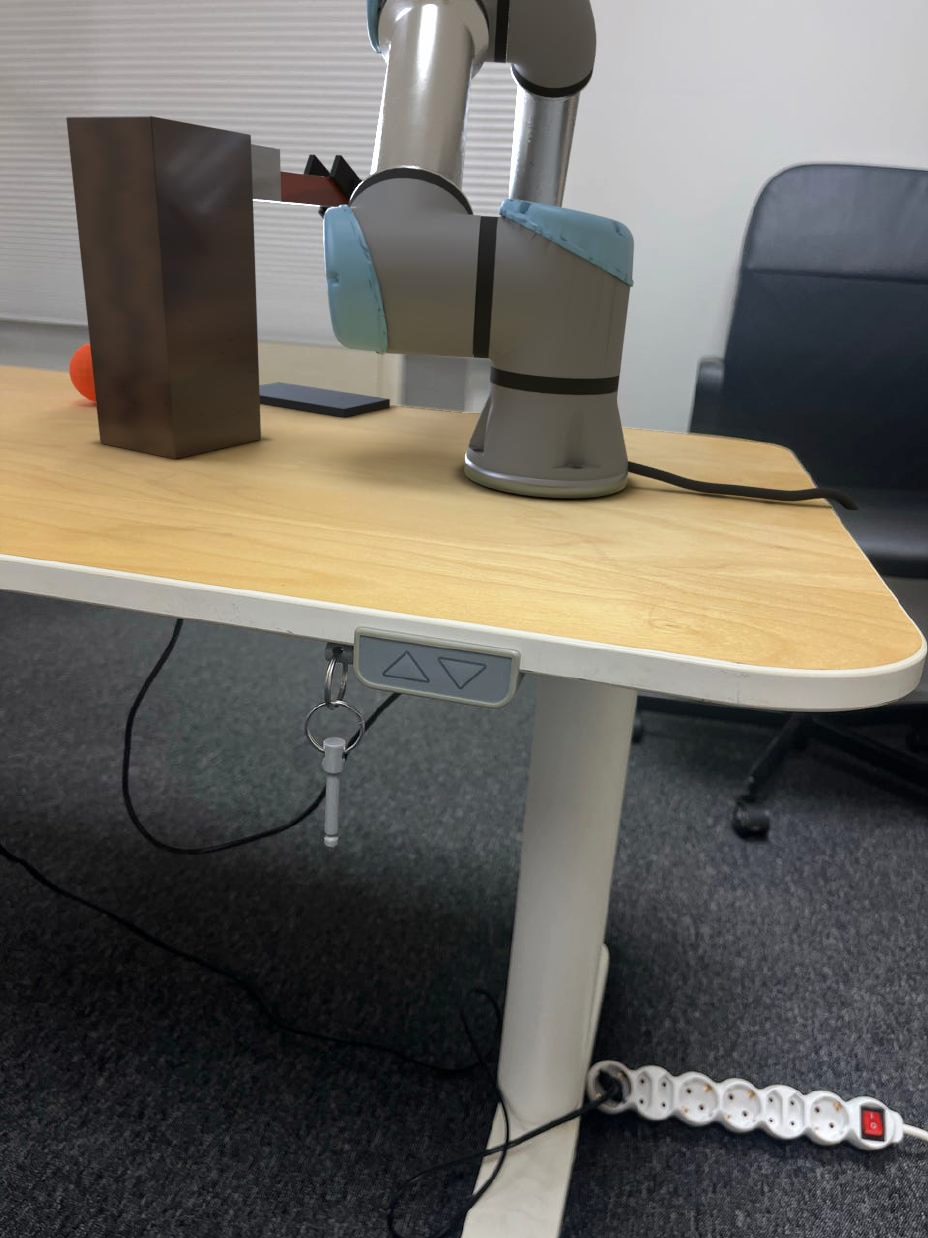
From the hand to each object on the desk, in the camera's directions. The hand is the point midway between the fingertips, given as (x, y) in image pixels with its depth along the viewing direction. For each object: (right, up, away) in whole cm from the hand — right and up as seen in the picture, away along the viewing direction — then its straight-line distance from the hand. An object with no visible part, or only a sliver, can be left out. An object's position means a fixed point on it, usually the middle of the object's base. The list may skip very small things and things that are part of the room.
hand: (321, 165), depth 102 cm
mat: (-3, -24, +12) cm, 27 cm away
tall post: (-12, -34, -12) cm, 38 cm away
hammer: (-2, -5, -1) cm, 5 cm away
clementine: (-26, -26, +4) cm, 37 cm away
